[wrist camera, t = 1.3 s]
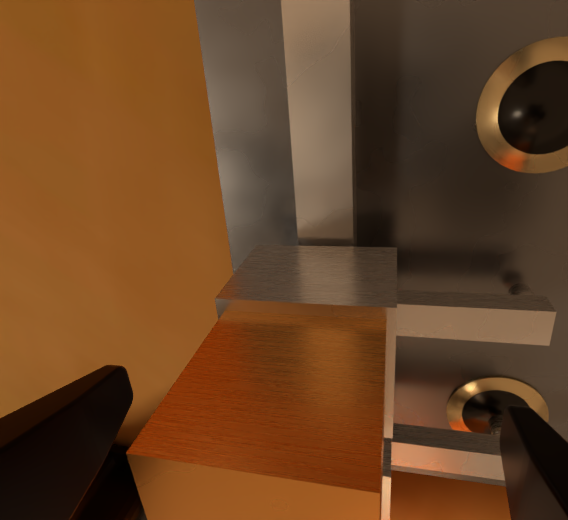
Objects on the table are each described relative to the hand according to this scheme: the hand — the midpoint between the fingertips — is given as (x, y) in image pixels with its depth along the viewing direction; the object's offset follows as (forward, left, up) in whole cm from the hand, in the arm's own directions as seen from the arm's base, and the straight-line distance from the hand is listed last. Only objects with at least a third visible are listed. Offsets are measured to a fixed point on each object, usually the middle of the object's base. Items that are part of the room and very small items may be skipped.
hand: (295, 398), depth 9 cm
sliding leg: (0, -2, -5) cm, 6 cm away
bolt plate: (0, -3, -7) cm, 8 cm away
